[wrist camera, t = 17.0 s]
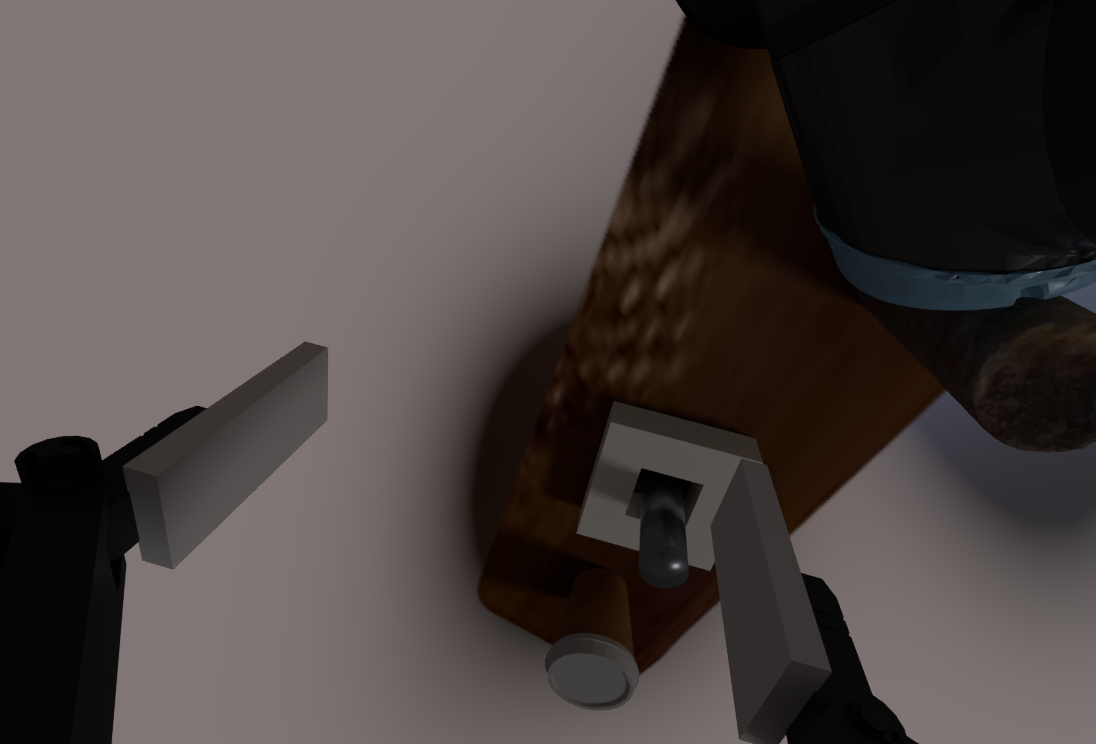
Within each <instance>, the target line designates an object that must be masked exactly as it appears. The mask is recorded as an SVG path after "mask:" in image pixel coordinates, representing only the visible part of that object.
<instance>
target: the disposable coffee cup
mask: <svg viewBox="0 0 1096 744" xmlns="http://www.w3.org/2000/svg"><path fill="white" fill-rule="evenodd" d="M630 626H631V624H630V614H629V605H628V595H627V586H626V583H625V582H624V580H623V579H622V578H621V577H620V576H619V575H618V574H616V573H614V572H613V571H610V570H607V569H603V568H591V569H587V570H584V571H582V572H581V573H579V575H578V576H577V577H576V578H575V581H574V584H573V587H572V591H571V593H570V597H569V600H568V603H567V605H566V609H565V612H564V615H563V618H562V621H561V624H560V627H559V630H558V633H557V636H556V639H555V642H554V644H553V646H552V648H551V649H550V650H549V652H548V653H547V657H546V659H545V667H546V671H547V674H548V681H549V683H550V686H551V688H552V689H553V690H554V691H555V693H556V694H557V695H559V696H560V697H561V698H562V699H564V700H565V701H567V702H569V703H571V704H573V705H575V706H578V707H581V708H585V709H589V710H610V709H614V708H617V707H619V706H622V705H623V704H625V703H626V702H627V701H628V700H629V699H630V698H631V696H632V694H633V691H634V689H635V688H636V686H637V684H638V681H639V671H638V667H637V664H636V662H635V660H634V654H633V644H632V634H631V627H630Z"/></svg>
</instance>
